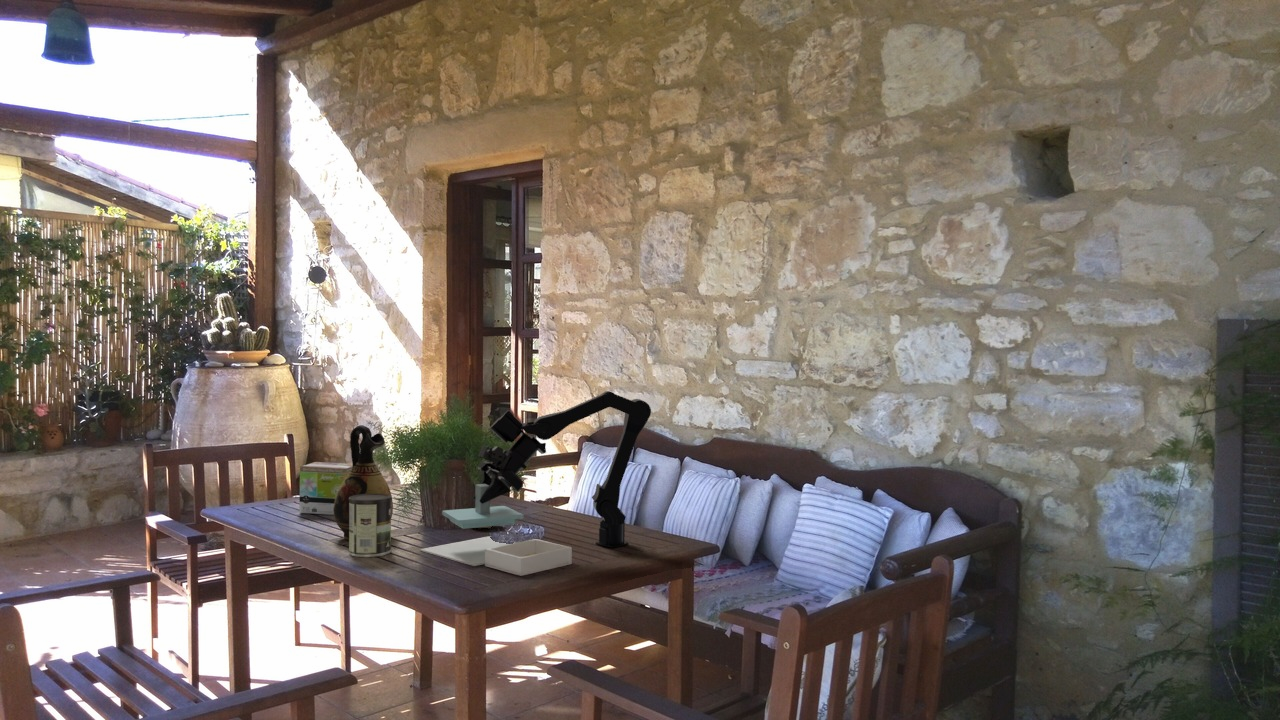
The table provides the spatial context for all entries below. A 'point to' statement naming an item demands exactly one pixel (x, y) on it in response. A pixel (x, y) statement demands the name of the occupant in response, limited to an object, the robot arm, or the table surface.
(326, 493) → the tea box
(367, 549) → the coffee can
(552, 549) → the parts tub
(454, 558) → the grey mat
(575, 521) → the table surface
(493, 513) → the teal lid
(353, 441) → the ceramic jug
